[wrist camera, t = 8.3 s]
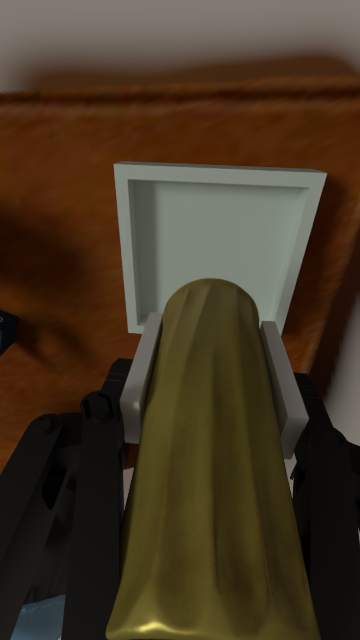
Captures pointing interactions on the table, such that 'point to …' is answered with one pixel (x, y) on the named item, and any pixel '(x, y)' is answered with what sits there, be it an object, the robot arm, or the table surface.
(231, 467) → the vase
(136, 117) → the table surface
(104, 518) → the robot arm
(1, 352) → the watch
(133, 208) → the tray
